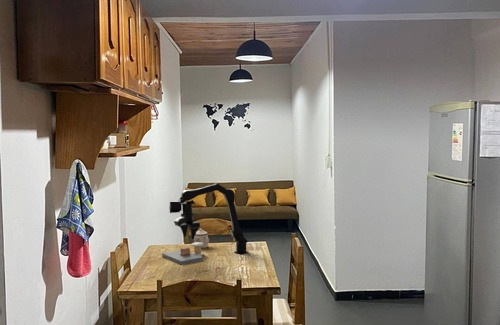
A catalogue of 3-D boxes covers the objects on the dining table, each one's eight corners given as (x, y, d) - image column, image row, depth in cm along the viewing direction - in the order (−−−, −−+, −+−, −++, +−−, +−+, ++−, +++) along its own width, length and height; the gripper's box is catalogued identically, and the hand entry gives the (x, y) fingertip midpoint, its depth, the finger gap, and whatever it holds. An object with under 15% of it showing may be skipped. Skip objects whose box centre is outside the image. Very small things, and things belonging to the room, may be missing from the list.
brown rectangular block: (190, 257, 276) (189, 247, 276) (183, 259, 273) (182, 248, 273) (187, 256, 278) (187, 246, 278) (180, 258, 276) (180, 248, 275)
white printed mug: (191, 247, 304) (190, 229, 303) (202, 244, 310) (201, 227, 309) (203, 249, 295) (202, 231, 295) (214, 247, 302) (213, 229, 301)
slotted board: (203, 260, 269) (203, 257, 269) (181, 264, 261) (181, 261, 261) (183, 252, 288) (183, 249, 288) (162, 256, 280) (162, 253, 280)
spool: (205, 255, 281) (205, 243, 281) (195, 257, 277) (195, 245, 277) (199, 253, 287) (199, 241, 287) (189, 254, 283) (189, 243, 282)
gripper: (167, 211, 278) (169, 237, 279) (183, 215, 263) (184, 242, 264) (184, 209, 285) (185, 234, 286) (200, 212, 270) (201, 239, 271)
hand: (188, 237), depth 277 cm, fingers open, 9 cm apart
